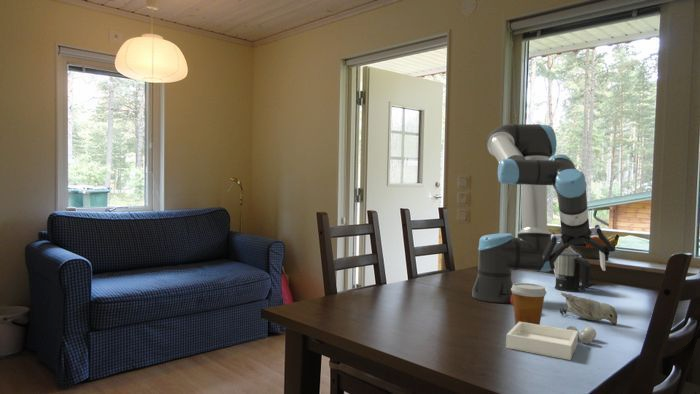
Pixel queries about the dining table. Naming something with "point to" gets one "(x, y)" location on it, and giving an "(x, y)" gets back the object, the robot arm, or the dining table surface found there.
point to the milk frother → (572, 272)
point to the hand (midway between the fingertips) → (579, 271)
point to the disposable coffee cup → (528, 302)
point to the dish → (542, 340)
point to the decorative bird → (589, 309)
